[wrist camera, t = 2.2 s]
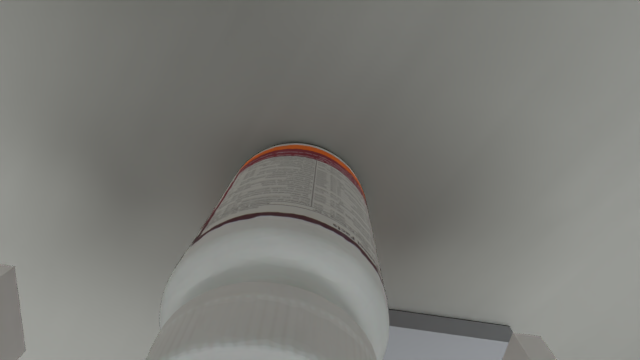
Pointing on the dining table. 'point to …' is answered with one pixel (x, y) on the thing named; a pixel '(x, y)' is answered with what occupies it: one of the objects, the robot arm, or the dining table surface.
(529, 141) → the dining table surface
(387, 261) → the dining table surface
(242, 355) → the pill bottle
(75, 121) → the dining table surface
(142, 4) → the dining table surface
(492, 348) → the board
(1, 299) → the robot arm
